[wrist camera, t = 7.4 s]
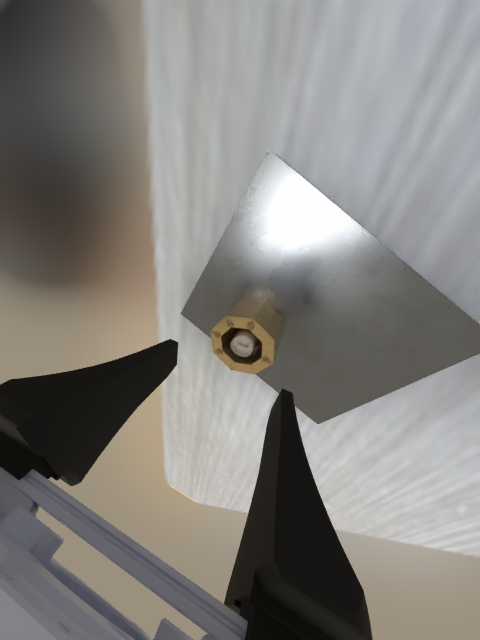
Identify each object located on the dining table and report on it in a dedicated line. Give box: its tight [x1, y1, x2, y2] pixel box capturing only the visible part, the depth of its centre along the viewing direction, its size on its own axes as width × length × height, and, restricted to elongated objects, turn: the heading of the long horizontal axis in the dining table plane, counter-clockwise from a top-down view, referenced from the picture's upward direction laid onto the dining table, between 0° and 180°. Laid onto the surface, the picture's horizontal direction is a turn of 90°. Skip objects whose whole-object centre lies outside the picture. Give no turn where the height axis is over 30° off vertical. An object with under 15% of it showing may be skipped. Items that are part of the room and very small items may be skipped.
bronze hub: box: [211, 298, 282, 375], centre depth 16 cm, size 5×5×4 cm
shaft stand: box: [181, 150, 480, 424], centre depth 15 cm, size 20×16×6 cm
